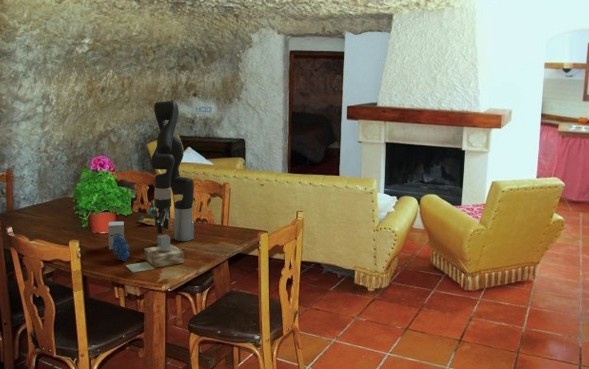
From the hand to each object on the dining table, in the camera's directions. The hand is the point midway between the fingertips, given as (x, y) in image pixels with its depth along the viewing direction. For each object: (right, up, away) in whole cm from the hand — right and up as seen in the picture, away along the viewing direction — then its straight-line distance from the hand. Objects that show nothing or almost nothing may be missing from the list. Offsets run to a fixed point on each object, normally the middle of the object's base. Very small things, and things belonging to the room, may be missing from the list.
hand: (163, 230), depth 274 cm
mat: (-9, -16, -7) cm, 20 cm away
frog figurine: (-21, -1, +65) cm, 69 cm away
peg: (0, -14, +3) cm, 15 cm away
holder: (0, -14, +3) cm, 15 cm away
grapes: (-21, -14, +1) cm, 25 cm away
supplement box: (-28, -10, +20) cm, 36 cm away
